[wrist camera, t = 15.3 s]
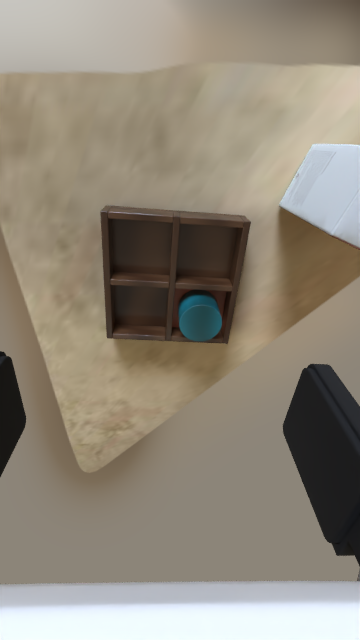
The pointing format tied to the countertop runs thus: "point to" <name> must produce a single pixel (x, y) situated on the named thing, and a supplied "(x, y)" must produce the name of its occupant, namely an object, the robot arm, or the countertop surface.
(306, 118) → the countertop surface
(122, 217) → the grid
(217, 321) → the teal cylinder
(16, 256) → the countertop surface
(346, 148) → the small box
